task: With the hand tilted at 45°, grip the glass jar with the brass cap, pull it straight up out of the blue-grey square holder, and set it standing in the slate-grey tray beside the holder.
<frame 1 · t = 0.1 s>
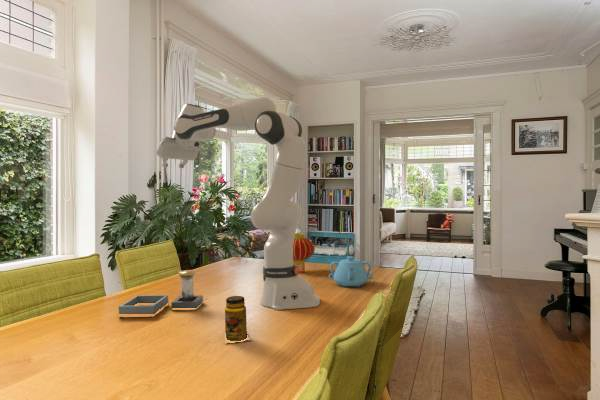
hand: (172, 167, 174), 54 cm above the table, tool tilted 30°, fingers open, 8 cm apart
tray: (144, 311, 139), on the table
condiment: (236, 338, 113), on the table
lantern: (298, 272, 202), on the table
blue-grey square holder: (187, 306, 144), on the table
glass jar: (187, 289, 144), in the blue-grey square holder
blue handled pot: (350, 286, 172), on the table
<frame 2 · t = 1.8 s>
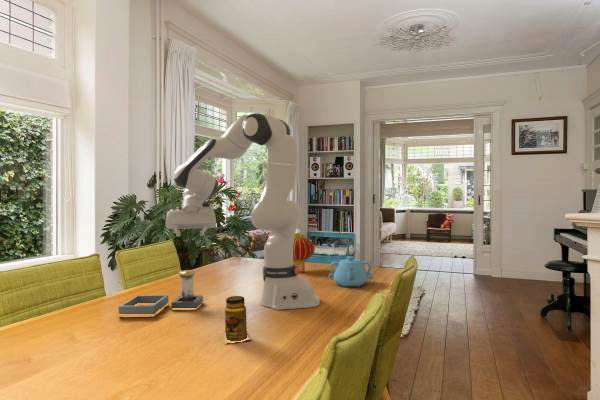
hand: (190, 235, 156), 26 cm above the table, tool tilted 45°, fingers open, 8 cm apart
nothing on the table moved.
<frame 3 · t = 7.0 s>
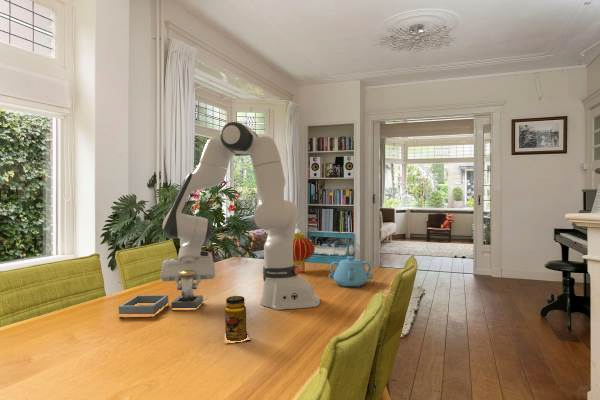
hand: (187, 288, 143), 7 cm above the table, tool tilted 45°, fingers closed on glass jar, 4 cm apart
glass jar: (187, 289, 144), in the blue-grey square holder, touching gripper
everything else where it was.
when the fingers open (9 cm above the table, at t = 13.8 s): glass jar drops 1 cm, resting on tray.
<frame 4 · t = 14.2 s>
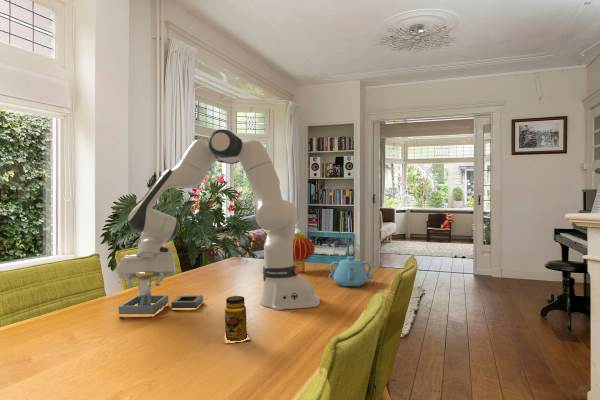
hand: (143, 286, 139), 9 cm above the table, tool tilted 45°, fingers open, 8 cm apart
glass jar: (144, 290, 139), in the tray, point 8 cm above the table
everything else where it was.
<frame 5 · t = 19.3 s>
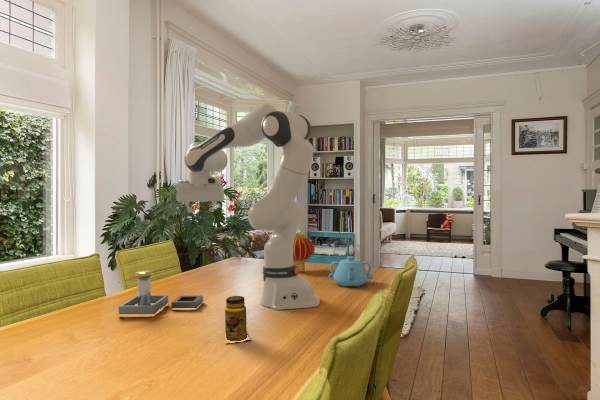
hand: (200, 212, 167), 34 cm above the table, tool pointing down, fingers open, 8 cm apart
nothing on the table moved.
at the end: glass jar inside the target area on the tray (0.0 cm from its centre), point 7.6 cm above the tray's base; the gripper is holding nothing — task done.
